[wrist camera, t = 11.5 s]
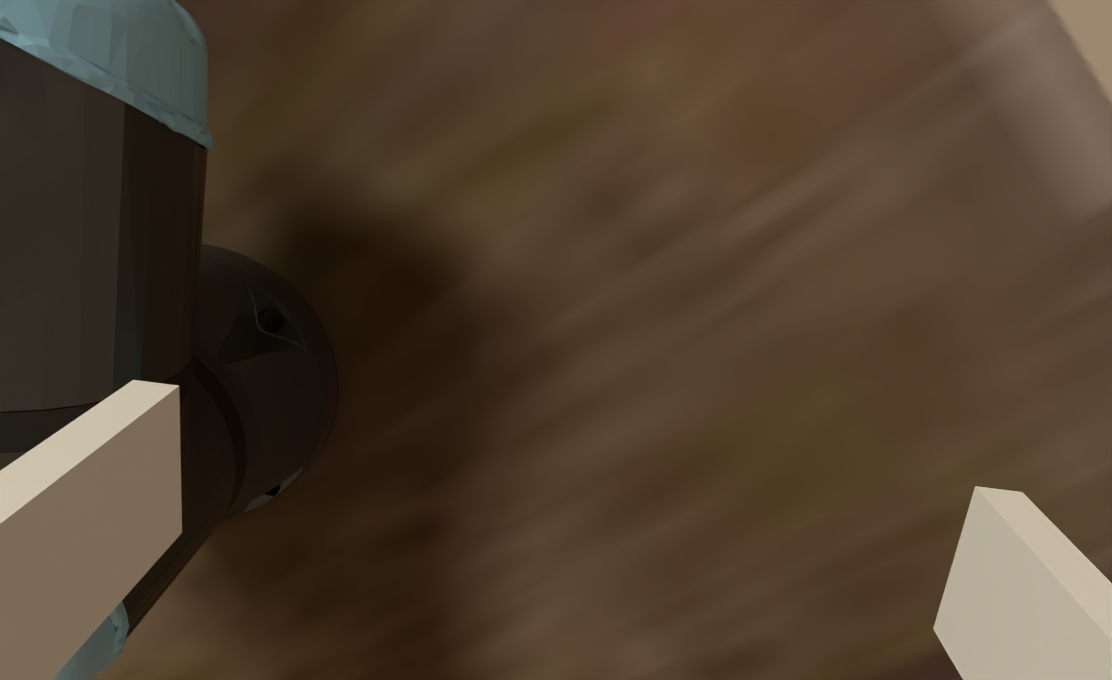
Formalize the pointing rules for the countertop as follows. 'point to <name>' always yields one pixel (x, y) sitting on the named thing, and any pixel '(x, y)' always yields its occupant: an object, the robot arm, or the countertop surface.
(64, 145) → the robot arm
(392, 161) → the countertop surface
